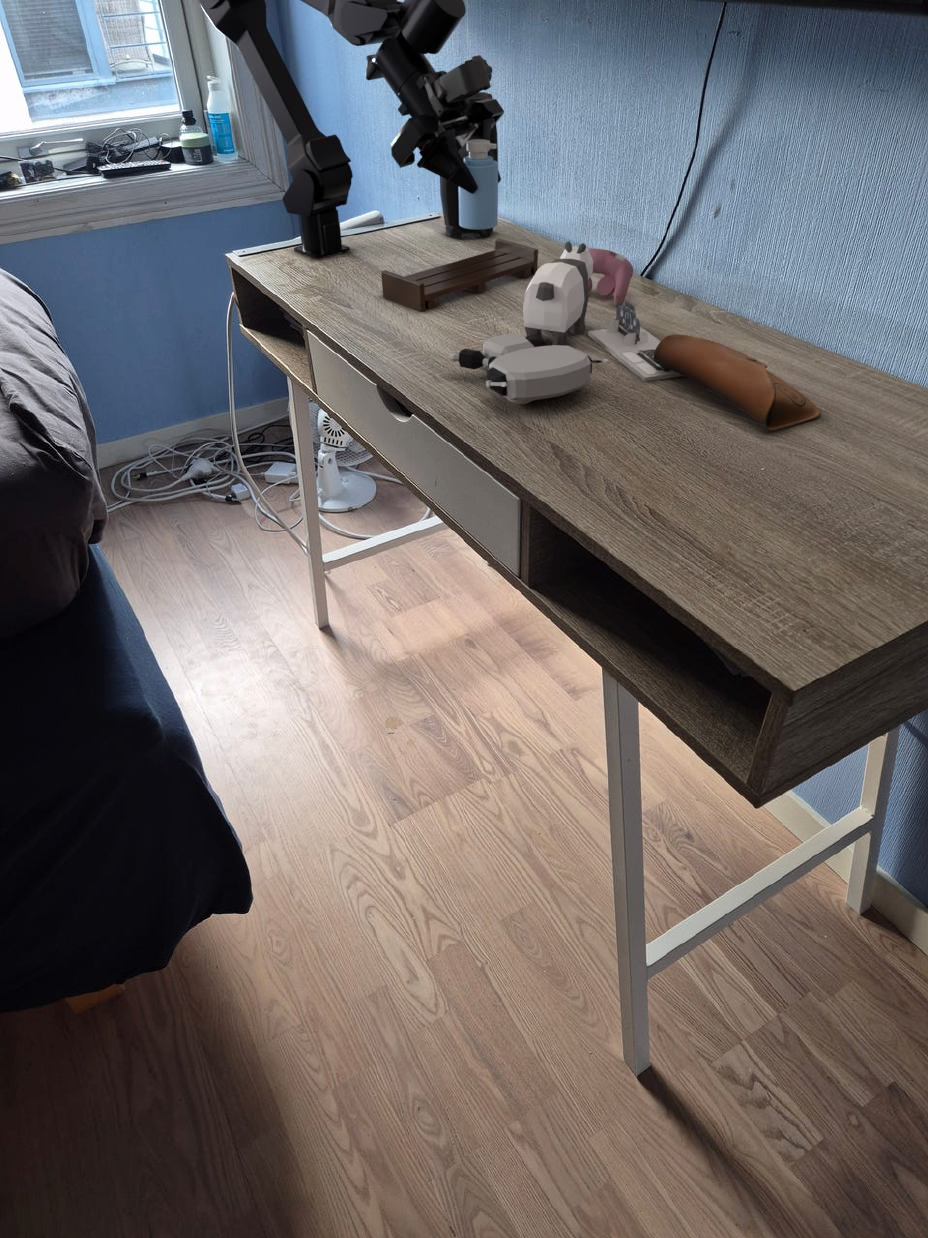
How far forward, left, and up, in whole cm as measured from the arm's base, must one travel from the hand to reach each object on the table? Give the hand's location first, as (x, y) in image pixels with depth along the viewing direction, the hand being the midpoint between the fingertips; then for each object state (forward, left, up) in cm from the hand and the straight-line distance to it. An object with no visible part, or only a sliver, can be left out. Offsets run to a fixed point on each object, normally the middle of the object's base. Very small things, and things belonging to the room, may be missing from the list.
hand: (487, 186), depth 114 cm
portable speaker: (-21, +16, -13) cm, 29 cm away
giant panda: (+20, -7, -13) cm, 25 cm away
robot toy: (+28, -21, -13) cm, 37 cm away
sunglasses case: (+45, -7, -12) cm, 47 cm away
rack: (-2, -3, -12) cm, 13 cm away
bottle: (-1, 0, -5) cm, 5 cm away
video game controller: (+14, +6, -13) cm, 20 cm away
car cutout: (+31, -5, -13) cm, 34 cm away
